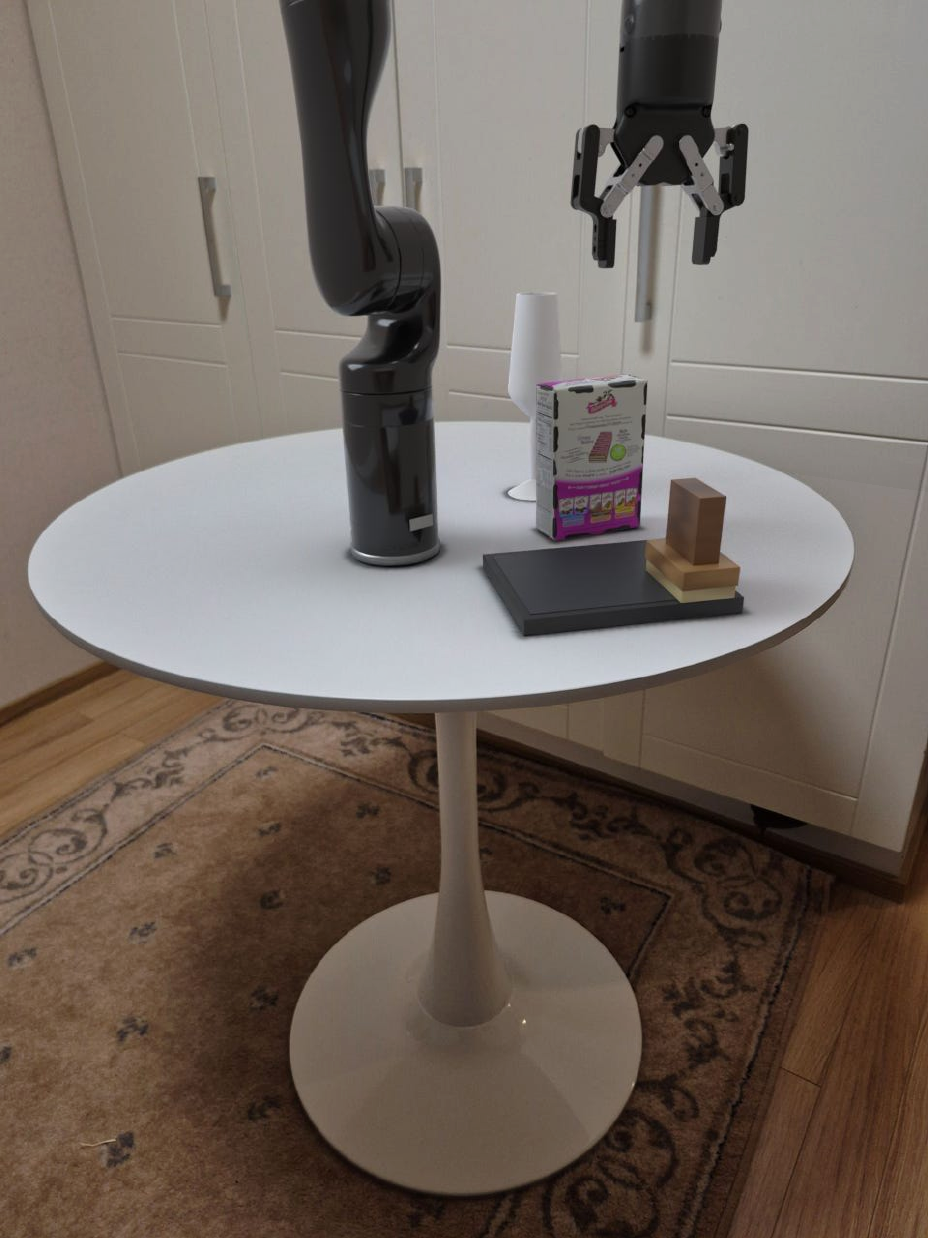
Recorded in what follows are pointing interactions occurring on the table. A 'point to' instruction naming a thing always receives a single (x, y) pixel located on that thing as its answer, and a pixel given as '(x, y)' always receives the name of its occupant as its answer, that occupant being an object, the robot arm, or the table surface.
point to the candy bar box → (589, 455)
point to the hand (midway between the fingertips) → (653, 266)
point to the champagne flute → (533, 365)
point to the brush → (693, 545)
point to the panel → (589, 589)
